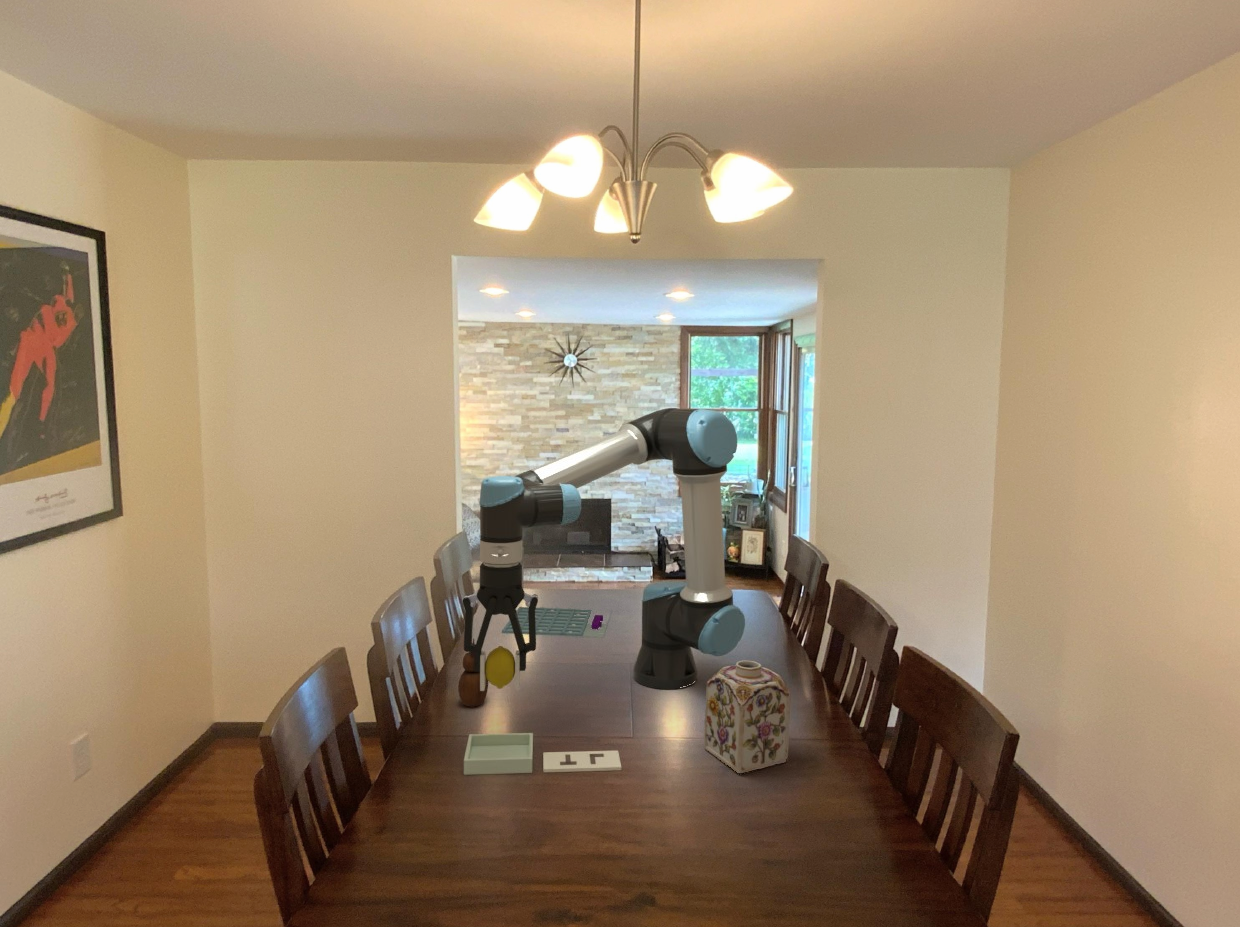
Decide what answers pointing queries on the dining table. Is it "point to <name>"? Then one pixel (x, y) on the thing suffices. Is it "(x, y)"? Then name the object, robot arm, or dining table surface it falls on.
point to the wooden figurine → (471, 683)
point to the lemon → (500, 667)
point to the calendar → (559, 622)
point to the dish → (499, 753)
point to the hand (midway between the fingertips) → (500, 687)
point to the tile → (581, 761)
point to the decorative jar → (747, 716)
